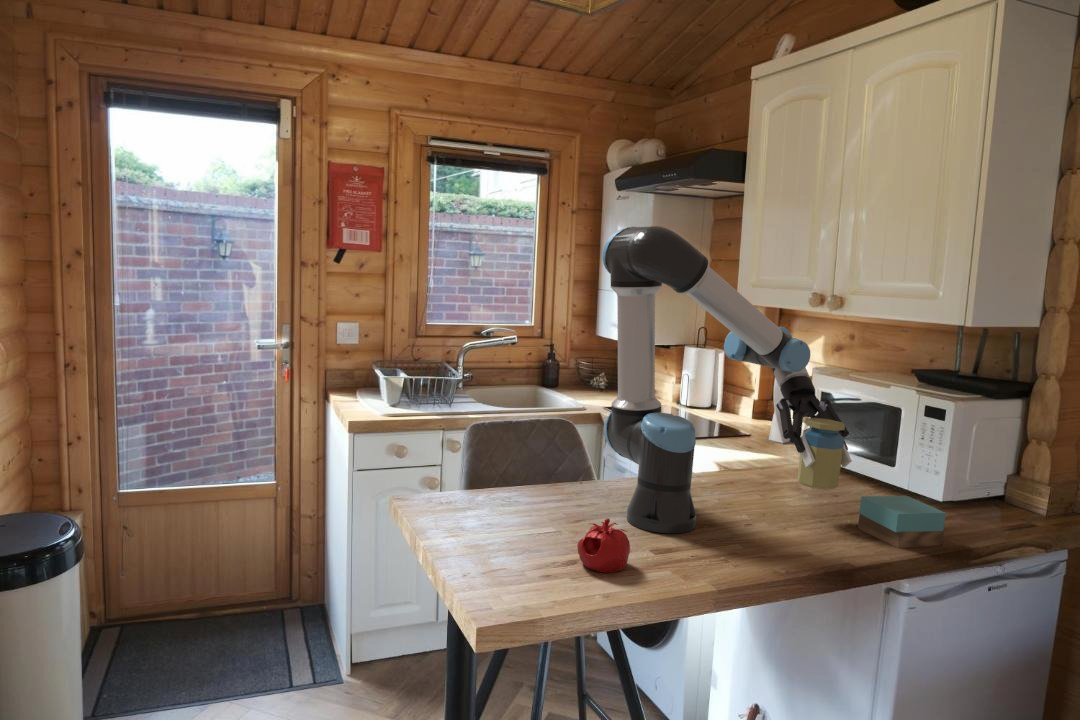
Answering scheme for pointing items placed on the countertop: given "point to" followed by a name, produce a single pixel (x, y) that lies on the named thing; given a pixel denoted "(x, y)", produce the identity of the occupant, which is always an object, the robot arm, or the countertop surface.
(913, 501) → the tower top
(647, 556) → the countertop surface
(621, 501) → the countertop surface
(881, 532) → the tower base
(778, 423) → the skyscraper
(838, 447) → the jar
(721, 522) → the countertop surface
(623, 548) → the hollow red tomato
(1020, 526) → the countertop surface
